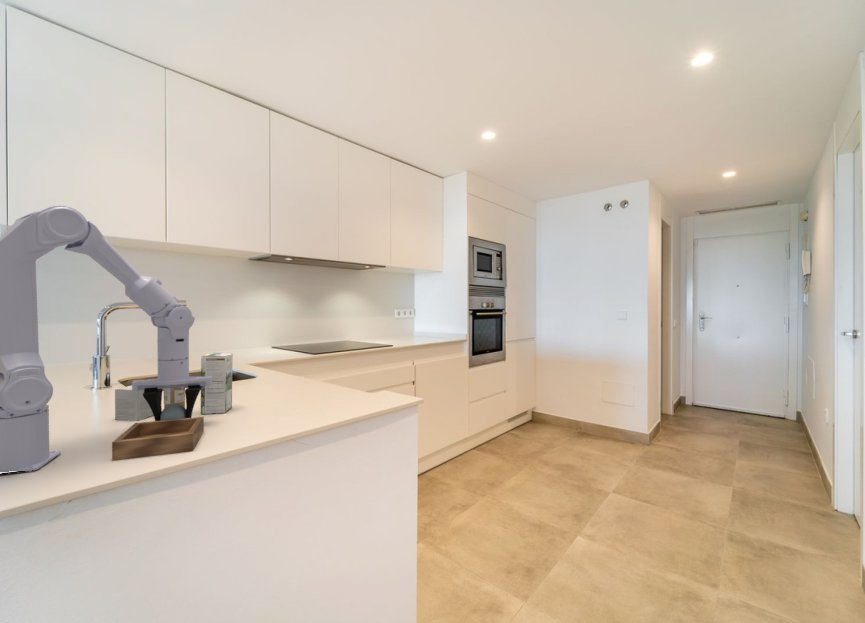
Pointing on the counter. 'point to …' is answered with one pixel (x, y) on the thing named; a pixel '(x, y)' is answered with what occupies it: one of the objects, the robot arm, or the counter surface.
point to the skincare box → (131, 405)
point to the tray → (158, 438)
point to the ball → (173, 412)
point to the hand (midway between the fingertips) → (173, 420)
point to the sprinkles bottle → (174, 396)
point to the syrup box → (217, 383)
